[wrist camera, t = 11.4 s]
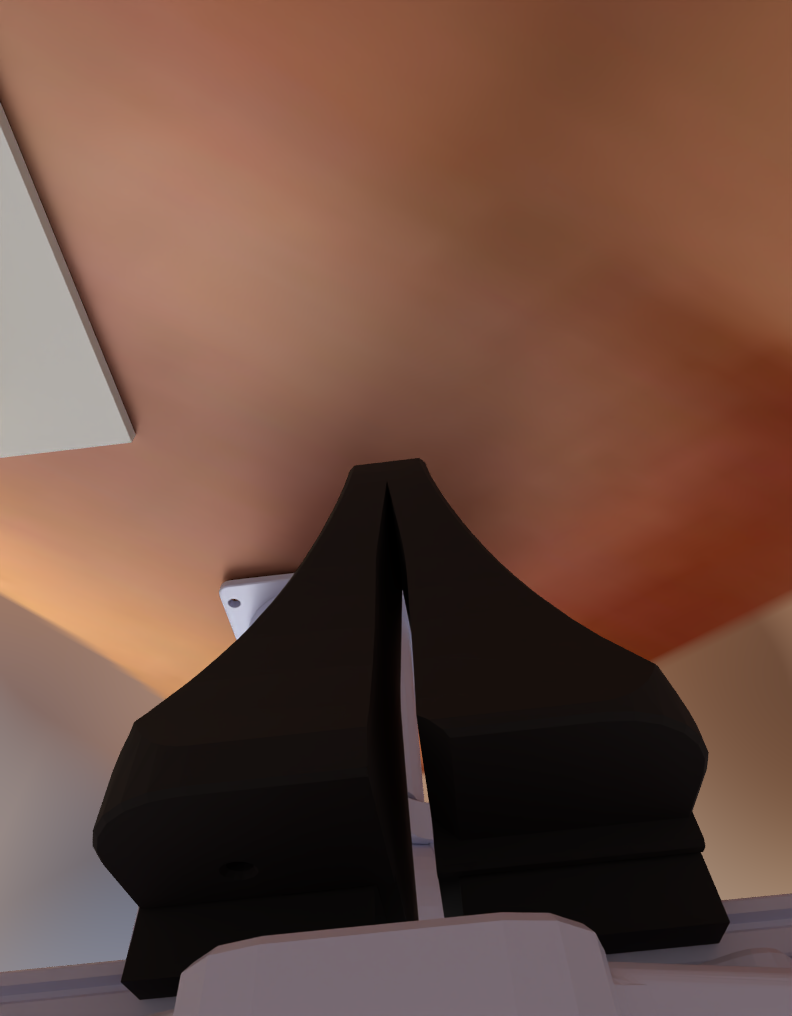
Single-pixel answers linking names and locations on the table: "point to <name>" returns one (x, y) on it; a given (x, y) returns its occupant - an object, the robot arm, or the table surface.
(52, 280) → the mat
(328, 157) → the table surface
